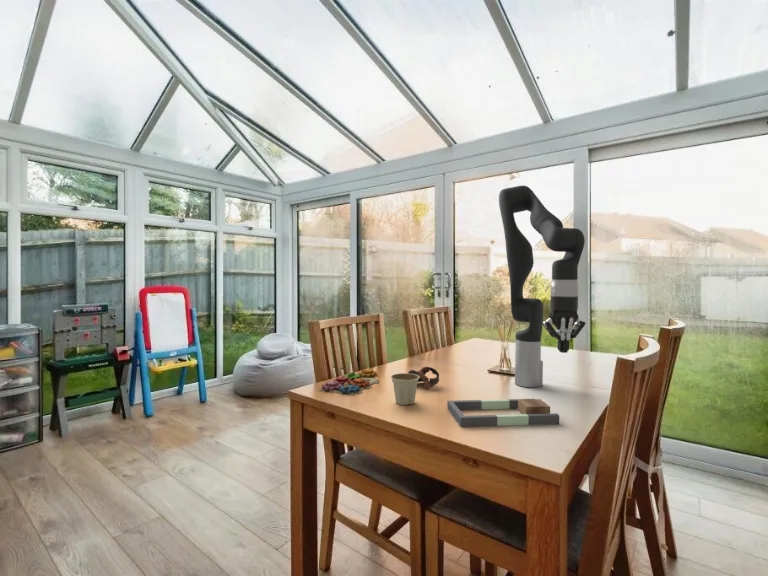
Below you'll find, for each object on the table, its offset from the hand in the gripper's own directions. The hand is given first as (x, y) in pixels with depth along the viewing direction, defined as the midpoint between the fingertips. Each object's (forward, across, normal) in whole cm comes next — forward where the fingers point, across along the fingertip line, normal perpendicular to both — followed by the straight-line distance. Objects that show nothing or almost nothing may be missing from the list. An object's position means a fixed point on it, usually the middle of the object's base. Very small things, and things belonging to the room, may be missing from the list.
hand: (563, 352), depth 119 cm
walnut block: (+19, +9, 0) cm, 21 cm away
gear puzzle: (+20, +62, -40) cm, 76 cm away
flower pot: (+19, +46, -14) cm, 52 cm away
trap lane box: (+19, +18, 0) cm, 26 cm away
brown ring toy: (+19, +36, -33) cm, 53 cm away
